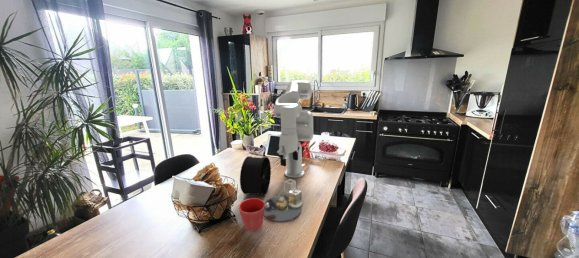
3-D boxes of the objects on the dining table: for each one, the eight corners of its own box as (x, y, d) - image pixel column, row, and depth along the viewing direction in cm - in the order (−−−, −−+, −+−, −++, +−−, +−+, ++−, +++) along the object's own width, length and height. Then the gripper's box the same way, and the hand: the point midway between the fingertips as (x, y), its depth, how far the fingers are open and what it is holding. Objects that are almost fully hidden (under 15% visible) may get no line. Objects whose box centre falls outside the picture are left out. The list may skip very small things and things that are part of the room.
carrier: (280, 194, 121) (279, 180, 119) (309, 207, 109) (309, 191, 107) (253, 211, 107) (251, 195, 105) (283, 228, 95) (283, 210, 93)
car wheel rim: (260, 203, 113) (258, 166, 108) (241, 201, 115) (238, 164, 110) (271, 184, 132) (269, 151, 127) (255, 182, 134) (252, 150, 129)
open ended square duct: (289, 188, 127) (289, 177, 125) (299, 192, 123) (299, 180, 121) (281, 193, 122) (281, 181, 120) (291, 197, 117) (291, 185, 116)
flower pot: (255, 237, 90) (253, 215, 88) (235, 227, 96) (233, 207, 94) (271, 222, 99) (270, 202, 97) (251, 214, 105) (250, 195, 102)
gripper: (293, 126, 122) (294, 156, 126) (271, 133, 109) (272, 166, 113) (305, 128, 117) (305, 159, 122) (283, 135, 105) (284, 170, 109)
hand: (289, 162), depth 117 cm, fingers open, 9 cm apart
